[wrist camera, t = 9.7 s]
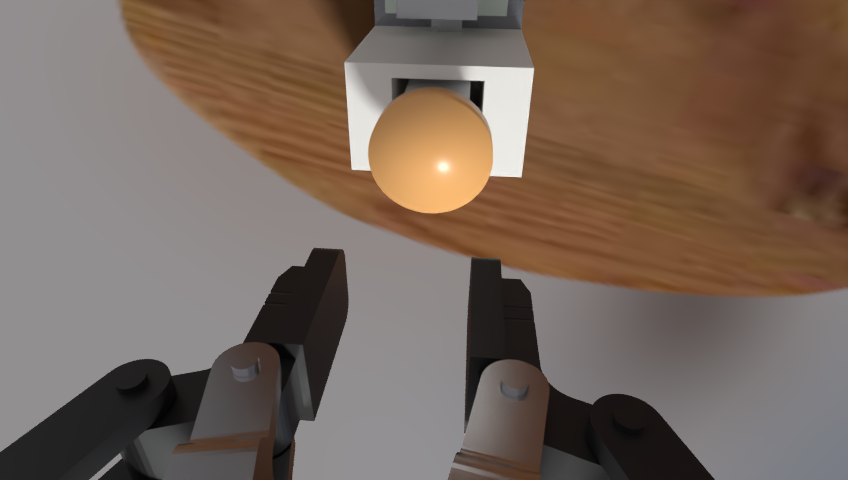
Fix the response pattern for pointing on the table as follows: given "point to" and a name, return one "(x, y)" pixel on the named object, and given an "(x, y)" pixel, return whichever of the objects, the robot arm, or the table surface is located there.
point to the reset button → (431, 147)
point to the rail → (456, 27)
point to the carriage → (446, 9)
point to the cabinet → (446, 60)
